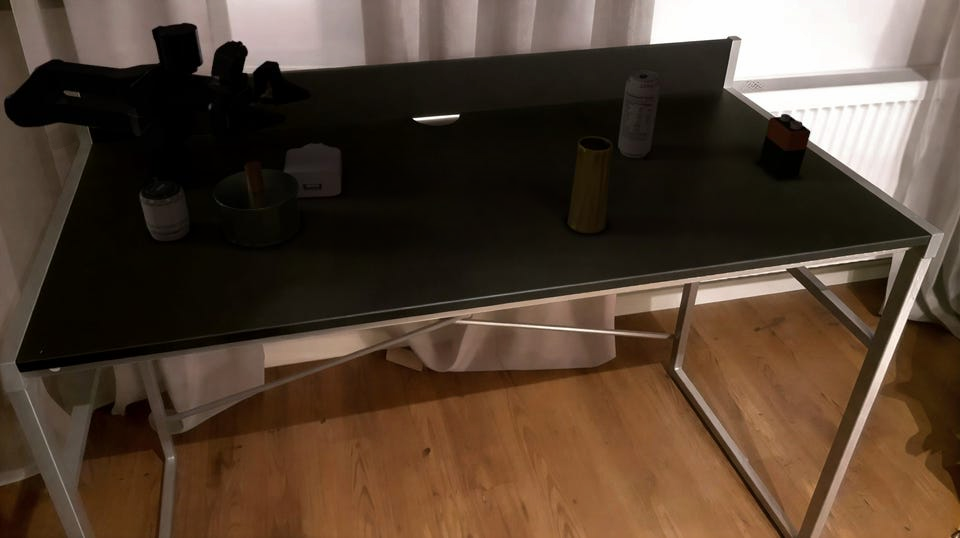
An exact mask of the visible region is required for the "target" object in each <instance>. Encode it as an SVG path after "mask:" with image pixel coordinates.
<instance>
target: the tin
mask: <svg viewBox="0 0 960 538" xmlns="http://www.w3.org/2000/svg"><path fill="white" fill-rule="evenodd" d="M298 198H299V197H298ZM298 198H297V195H296V196H295V197H294V198H293V199H292V200H291V201H289V202H288V203H286V204H284V205H282V206H280V207H277V208H274V209H271V210H266V211H261V212H236V211H231V210H228V209H225V208H223V207H221V206H220V205H219V204H217V206H218V210H219V215H220V221H221V226H222V231H223V232H224V233H223V234H224V237H225V238H226V239H227V240H228V241H229V242H230V243H232V244H233V245H236V246H239V247H244V248H252V249H253V248H255V249H256V248H257V249H259V248H267V247H268V248H269V247H273V246H276V245H279V244H282V243H285V242H286V241H289V240H290V239H292V238H293V237H294V236H295V235H296V234H297V233H298V232H299V230H300V228H301V214H300V207H299V199H298Z"/></svg>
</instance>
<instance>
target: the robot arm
mask: <svg viewBox="0 0 960 538" xmlns="http://www.w3.org/2000/svg"><path fill="white" fill-rule="evenodd" d="M151 35H152V39H153V41H154V43H155V48H156V52H157V58H158V63H144V64H143V63H142V64H137V65H132V66H128V67H112V66H104V65H95V64H88V63H79V62H71V61H64V60H63V59H59V58H52V59H50V60H48V61H46V62H44V63H42V64H40V65H38V66H36V67H35V68H34V69H33V71H32V72H31V73H30V75H29V76H28V77H27V79H26V80H25V81H24V82H23V83H22V84H21V85H19V87H18V88H17V89H16V90H15V91H14V92H13V93H11V94H8V95H7V96H6V97H5V98H4V100H3V108H4V113H5V115H6V117H7V118H8V120H9V121H11V122H12V123H13V124H14V125H15V126H17V127H20V128H27V129H29V128H42V127H46V126H51V125H54V124H65V125H66V124H67V125H74V126H80V127H86V128H87V127H88V128H94V129H101V130H107V131H115V132H121V133H127V134H133V135H135V136H136V137H137V138H136V139H135V140H134V141H133V142H132V143H131V144H132V148H133V149H134V150H135V152H136V154H137V156H140V157H145V160H146V166H147V169H148V174H149V177H148V178H147V179H146V180H145V181H144V183H145V185H146V186H147V185H149V184H151V183H154V182H158V181H172V182H175V183H178V184H179V185H180V186H181V187H182V188H183V187H184V186H185V185H186V184H187V183H189V182H190V181H191V180H192V179H193V178H194V177H195V176H197V175H198V174H199V171H198V170H199V169H195V168H194V165H193V159H192V155H191V154H190V153H189V151H188V145H187V143H184V142H185V141H186V140H188V139H190V138H191V137H192V131H193V130H194V129H195V128H196V116H195V113H194V112H197V113H199V112H201V113H204V114H206V118H207V119H208V122H209V128H210V132H211V136H213V138H215V139H216V141H218V142H220V143H227V144H228V143H229V144H230V143H231V142H232V141H233V140H239V139H240V138H243V137H245V136H248V135H250V134H254V133H256V132H259V131H262V130H265V129H267V128H271V127H274V126H277V125H280V124H284V123H285V122H286V115H285V114H283V113H280V112H277V111H273V110H269V109H266V108H260V107H256V105H257V104H258V103H260V104H262V105H265V106H266V105H267V106H269V105H273V106H274V107H276V106H282V105H285V104H291V103H296V102H301V101H305V100H310V99H311V97H312V95H311V90H308V89H306V88H304V87H301V86H300V85H298V84H296V83H294V82H292V81H290V80H289V79H287V78H285V77H284V76H283V74H282V71H281V68H280V63H279V62H278V61H273V60H265V61H264V62H263V63H261V64H260V65H258V66H257V67H256V68H255V70H254V71H252V78H253V86H252V87H251V85H250V84H249V83H248V81H249V75H248V72H244V70H245V63H246V59H247V57H248V55H249V50H248V47H247V46H246V45H244V44H243V41H241V40H238V41H235V40H228V41H226V42H224V43H223V44H221V45H220V46H219V47H217V48H216V49H215V51H214V53H213V58H212V64H211V71H210V75H203V74H196V73H197V72H198V71H199V68H200V67H201V66H203V65H204V58H203V53H202V51H203V50H202V46H201V41H200V34H199V30H198V25H196V24H195V23H192V22H191V23H190V22H182V23H173V24H168V25H157V26H156V27H154V28H152V29H151ZM65 92H73V93H80V94H87V95H96V96H103V97H110V98H111V97H112V98H114V99H118V100H119V101H120V102H118V101H112V100H105V99H97V98H89V97H84V96H76V95H69V94H66V93H65Z"/></svg>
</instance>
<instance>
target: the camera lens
mask: <svg viewBox="0 0 960 538" xmlns="http://www.w3.org/2000/svg"><path fill="white" fill-rule="evenodd" d="M138 198H139V201H140V205H141V208H142V212H143V216H144V220H145V224H146V227H147V229H148V231H149V233H150V234H151V237H152V238H153V239H154V240H157V241H160V242H171V241H177V240H180V239H182V238H184V237H186V236H187V235H188V233H190V228H191V227H190V226H191V220H190V214H189V209H188V205H187V201H186V196H185V191H184V188H183V187H181V186H180V185H179V184H178V183H175V182H172V181H158V182H154V183H151V184H149V185H146V186H144V187H142V189H141V191H140V193H139V197H138Z"/></svg>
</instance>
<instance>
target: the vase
mask: <svg viewBox="0 0 960 538" xmlns="http://www.w3.org/2000/svg"><path fill="white" fill-rule="evenodd" d="M613 150H614V144H613V142H612V141H611V140H610V139H608V138H606V137H604V136H599V135H586V136H583V137H581V138H580V139H579V140H578V142H577V151H576V158H575V159H576V160H575V168H574V175H573V182H572V190H571V191H572V192H571V197H570V204H569V205H570V206H569V212H568V218H567V221H566V222H567V225H568V226H569V228H570V229H571V230H573V231H575V232H577V233H581V234H597V233H599V232H602V231H603V230H604V229H605V228H606V227H607V222H606V221H607V220H606V219H607V210H608V209H607V208H608V196H609V183H610V173H611V166H612V165H611V164H612V157H613V152H614V151H613Z"/></svg>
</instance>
